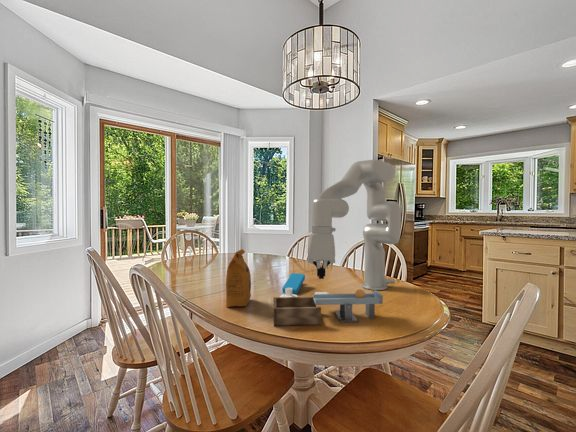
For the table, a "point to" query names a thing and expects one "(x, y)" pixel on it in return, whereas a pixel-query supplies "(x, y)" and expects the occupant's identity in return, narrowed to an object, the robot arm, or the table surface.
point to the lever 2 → (347, 298)
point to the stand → (347, 315)
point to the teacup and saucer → (288, 293)
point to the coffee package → (238, 281)
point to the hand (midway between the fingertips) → (321, 278)
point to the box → (296, 311)
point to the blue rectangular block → (294, 282)
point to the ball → (360, 293)
